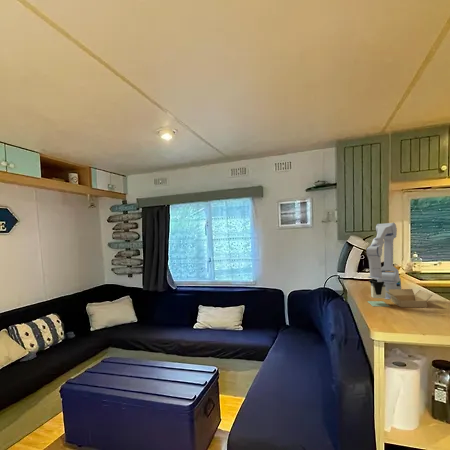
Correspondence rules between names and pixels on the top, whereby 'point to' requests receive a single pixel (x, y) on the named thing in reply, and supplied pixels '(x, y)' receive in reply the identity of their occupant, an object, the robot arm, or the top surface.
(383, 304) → the pad
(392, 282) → the robot arm
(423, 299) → the carton
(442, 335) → the top surface
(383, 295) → the block
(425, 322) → the top surface
